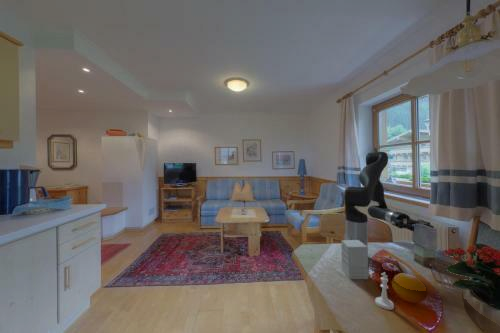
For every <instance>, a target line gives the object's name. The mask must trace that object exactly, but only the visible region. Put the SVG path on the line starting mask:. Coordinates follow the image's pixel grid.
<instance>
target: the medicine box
mask: <svg viewBox="0 0 500 333" xmlns="http://www.w3.org/2000/svg"><path fill="white" fill-rule="evenodd" d="M412 226H414V231H411V232H412V236H411V238H412V243H413V244H417V245H419V246H422V247H424V248H426V249H435V250H438V229H437V228H435V227H434V228H432V227H429V226H426V225H423V224H412Z"/></svg>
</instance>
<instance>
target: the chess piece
mask: <svg viewBox="0 0 500 333" xmlns="http://www.w3.org/2000/svg"><path fill="white" fill-rule="evenodd" d="M380 274H381V276H382V277H380V281H381V283H380V285H379V286H380V287H381V290H382V291H381V296H377V297H376V298H375V299H374V301H375V302H374V303H375V304H376V305H377V306H378V307H380V308H381V309H385V310H394V309H395V305H394V302H393V301H391V299H389V298H388V292H387V289H389V285H387V284H388V282H389V279H388V275H387V274H386V272H385V271H384V272H381V273H380Z"/></svg>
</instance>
